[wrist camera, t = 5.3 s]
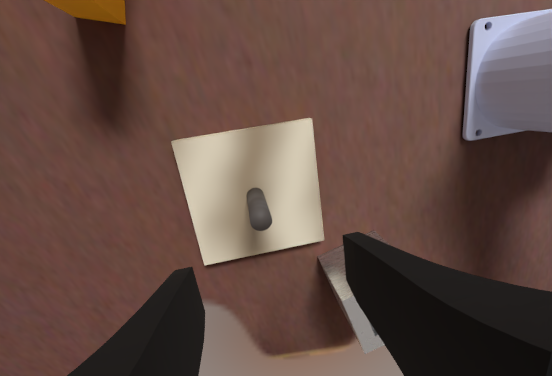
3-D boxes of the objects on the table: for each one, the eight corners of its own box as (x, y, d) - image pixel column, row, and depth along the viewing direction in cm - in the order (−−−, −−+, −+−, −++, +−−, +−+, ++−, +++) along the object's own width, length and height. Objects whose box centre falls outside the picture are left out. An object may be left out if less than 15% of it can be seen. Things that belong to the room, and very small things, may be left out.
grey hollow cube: (373, 230, 22) (414, 267, 17) (389, 277, 24) (431, 322, 19) (317, 256, 22) (342, 301, 17) (337, 301, 23) (364, 354, 19)
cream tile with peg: (308, 117, 18) (334, 123, 14) (321, 235, 21) (346, 273, 17) (173, 140, 18) (152, 153, 13) (205, 259, 20) (197, 306, 16)
